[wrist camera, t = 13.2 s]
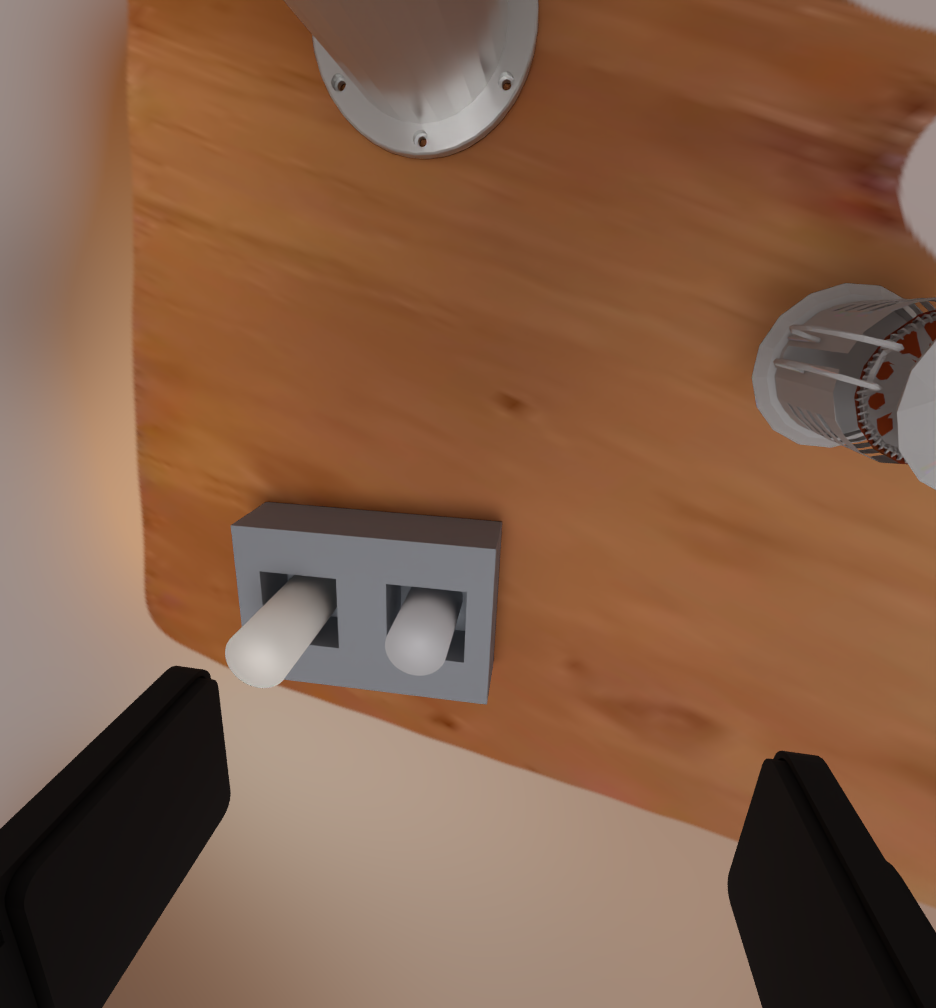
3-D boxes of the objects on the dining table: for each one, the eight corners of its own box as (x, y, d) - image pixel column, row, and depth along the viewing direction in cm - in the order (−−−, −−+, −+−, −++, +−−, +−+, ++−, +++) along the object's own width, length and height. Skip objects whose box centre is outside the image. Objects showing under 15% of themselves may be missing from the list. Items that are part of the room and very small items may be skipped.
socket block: (266, 501, 42) (204, 542, 35) (502, 521, 40) (491, 569, 32) (278, 638, 46) (225, 701, 38) (493, 662, 44) (481, 734, 36)
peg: (295, 558, 42) (222, 626, 33) (346, 563, 42) (286, 635, 32) (298, 604, 43) (228, 683, 34) (347, 610, 43) (290, 692, 34)
